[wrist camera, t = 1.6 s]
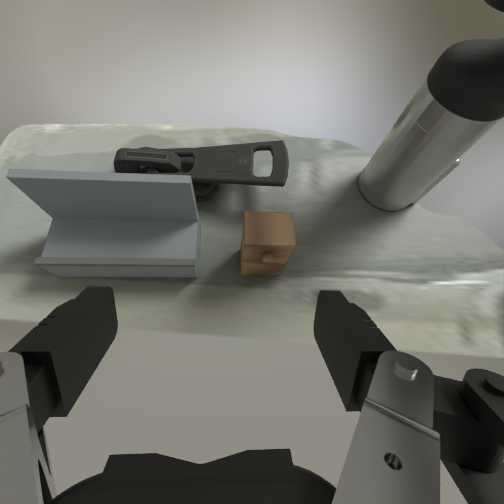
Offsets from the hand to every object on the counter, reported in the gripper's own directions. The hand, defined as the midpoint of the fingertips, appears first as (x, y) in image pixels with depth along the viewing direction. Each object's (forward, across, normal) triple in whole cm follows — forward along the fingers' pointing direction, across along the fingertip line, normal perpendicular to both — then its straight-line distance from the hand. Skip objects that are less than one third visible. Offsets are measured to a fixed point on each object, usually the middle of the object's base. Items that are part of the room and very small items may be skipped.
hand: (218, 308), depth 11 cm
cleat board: (+27, +13, +8) cm, 31 cm away
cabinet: (+26, -5, +9) cm, 28 cm away
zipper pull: (+36, +4, 0) cm, 36 cm away
